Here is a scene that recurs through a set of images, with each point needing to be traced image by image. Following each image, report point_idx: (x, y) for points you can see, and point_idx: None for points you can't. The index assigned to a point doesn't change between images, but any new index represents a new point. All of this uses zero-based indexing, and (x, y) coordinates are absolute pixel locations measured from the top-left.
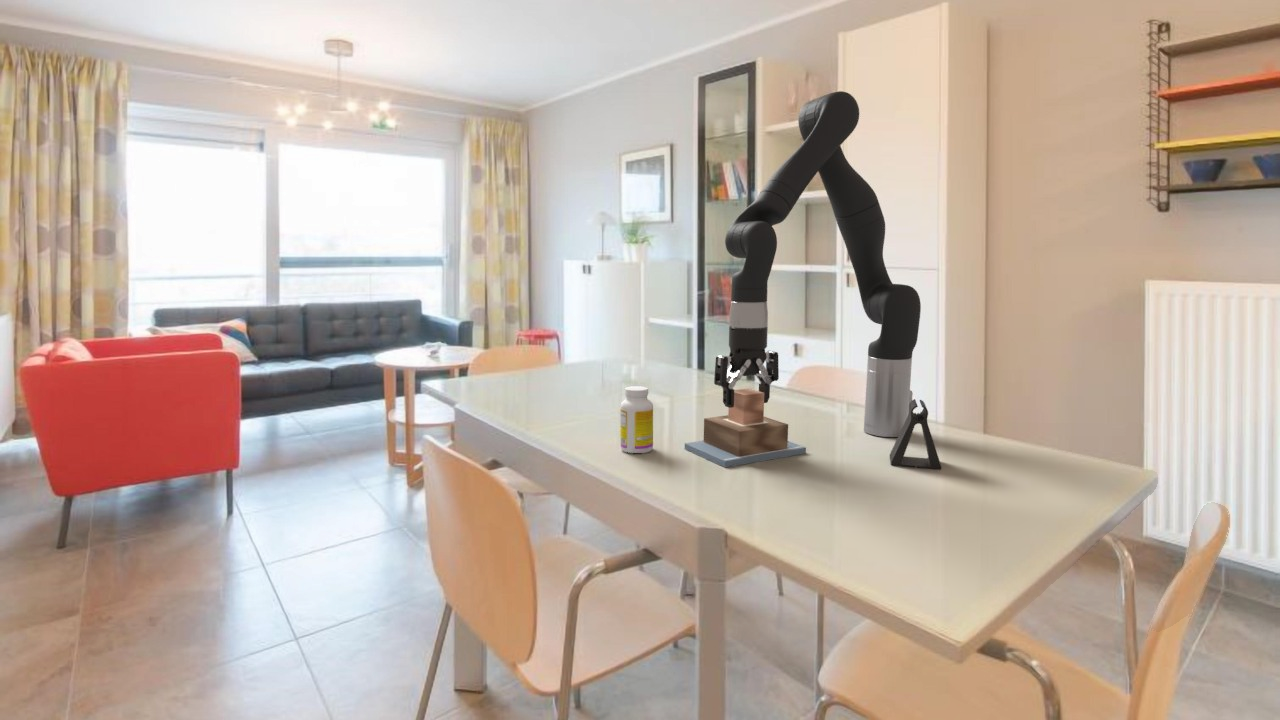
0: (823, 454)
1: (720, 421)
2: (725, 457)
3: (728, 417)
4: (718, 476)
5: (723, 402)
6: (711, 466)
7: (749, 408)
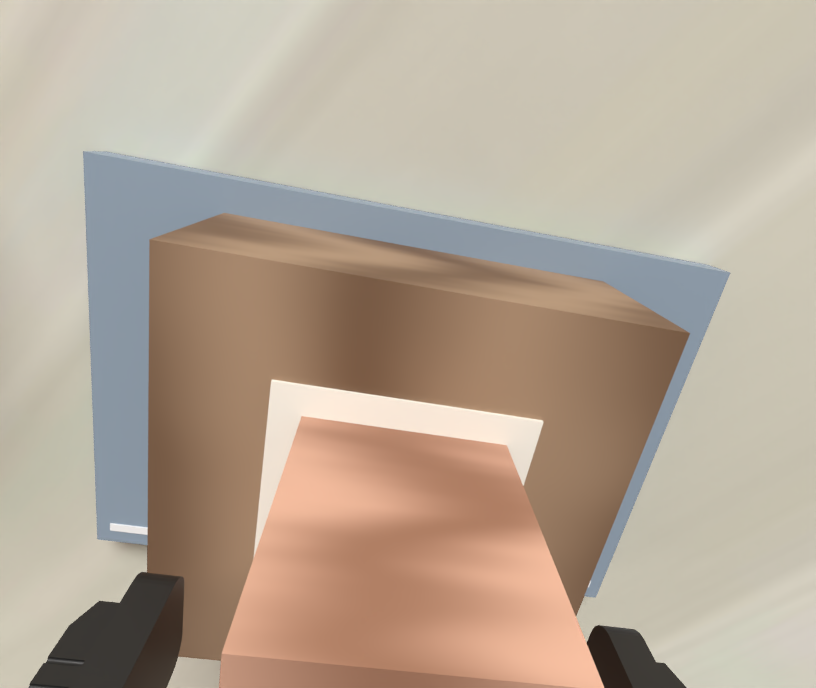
0: (624, 617)
1: (214, 407)
2: (139, 503)
3: (298, 427)
4: (15, 576)
5: (82, 619)
6: (66, 474)
7: None
